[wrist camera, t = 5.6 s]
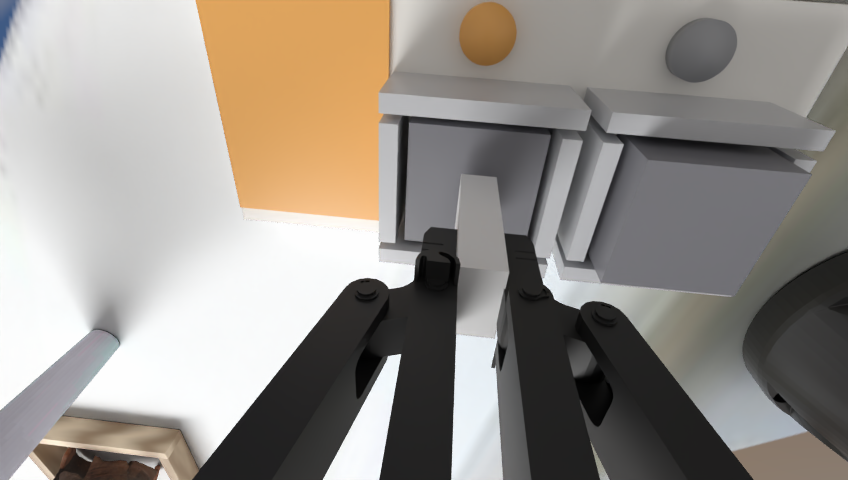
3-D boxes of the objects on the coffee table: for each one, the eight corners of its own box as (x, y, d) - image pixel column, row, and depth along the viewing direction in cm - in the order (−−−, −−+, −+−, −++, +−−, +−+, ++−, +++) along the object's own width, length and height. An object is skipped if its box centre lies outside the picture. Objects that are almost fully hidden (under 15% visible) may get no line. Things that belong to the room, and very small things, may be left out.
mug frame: (179, 429, 42) (165, 453, 40) (218, 510, 52) (207, 533, 50) (31, 412, 43) (9, 434, 41) (97, 495, 53) (82, 516, 51)
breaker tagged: (538, 110, 20) (551, 135, 17) (516, 215, 23) (523, 251, 20) (417, 100, 20) (409, 122, 17) (412, 205, 23) (404, 240, 20)
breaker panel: (833, 3, 18) (973, 16, 13) (703, 246, 25) (762, 314, 20) (212, -42, 19) (122, -46, 14) (258, 203, 26) (209, 258, 21)
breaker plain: (755, 140, 18) (812, 174, 15) (697, 250, 21) (734, 296, 18) (618, 128, 18) (648, 160, 15) (582, 239, 21) (600, 282, 18)
